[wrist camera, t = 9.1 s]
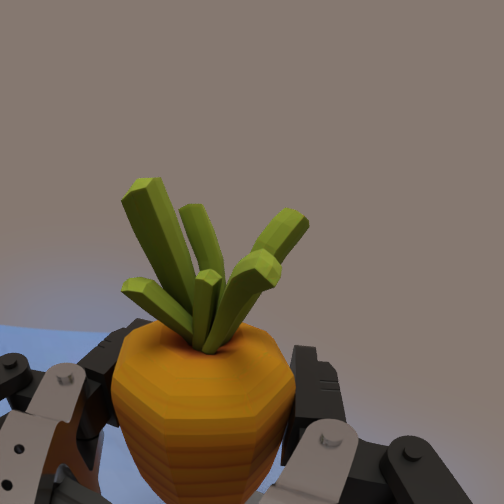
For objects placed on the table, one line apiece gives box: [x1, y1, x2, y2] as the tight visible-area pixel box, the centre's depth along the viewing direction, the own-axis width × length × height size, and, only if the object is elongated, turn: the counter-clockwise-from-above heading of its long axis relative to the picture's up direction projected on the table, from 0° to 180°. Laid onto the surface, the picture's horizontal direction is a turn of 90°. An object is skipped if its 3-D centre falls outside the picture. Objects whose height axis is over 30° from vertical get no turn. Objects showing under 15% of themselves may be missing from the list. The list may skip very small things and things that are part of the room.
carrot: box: [111, 177, 309, 504], centre depth 8 cm, size 5×5×15 cm
